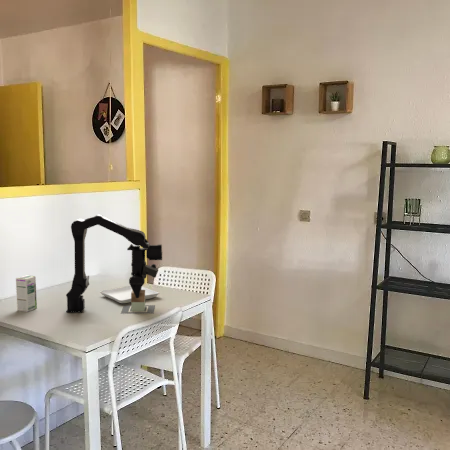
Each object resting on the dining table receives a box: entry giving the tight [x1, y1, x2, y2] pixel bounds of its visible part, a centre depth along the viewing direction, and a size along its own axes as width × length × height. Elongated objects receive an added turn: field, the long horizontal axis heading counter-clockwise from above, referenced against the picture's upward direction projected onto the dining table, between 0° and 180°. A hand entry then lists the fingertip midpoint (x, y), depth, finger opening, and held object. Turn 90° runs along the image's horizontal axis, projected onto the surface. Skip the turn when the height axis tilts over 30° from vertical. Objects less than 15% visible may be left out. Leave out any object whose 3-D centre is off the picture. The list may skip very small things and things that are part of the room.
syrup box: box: [15, 274, 38, 313], centre depth 209 cm, size 6×6×14 cm
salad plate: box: [99, 285, 160, 305], centre depth 232 cm, size 21×21×3 cm
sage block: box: [130, 300, 146, 311], centre depth 212 cm, size 6×6×4 cm
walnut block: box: [130, 290, 146, 303], centre depth 212 cm, size 6×6×4 cm
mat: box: [120, 304, 156, 315], centre depth 212 cm, size 14×12×1 cm
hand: (138, 295), depth 212 cm, fingers open, 9 cm apart
